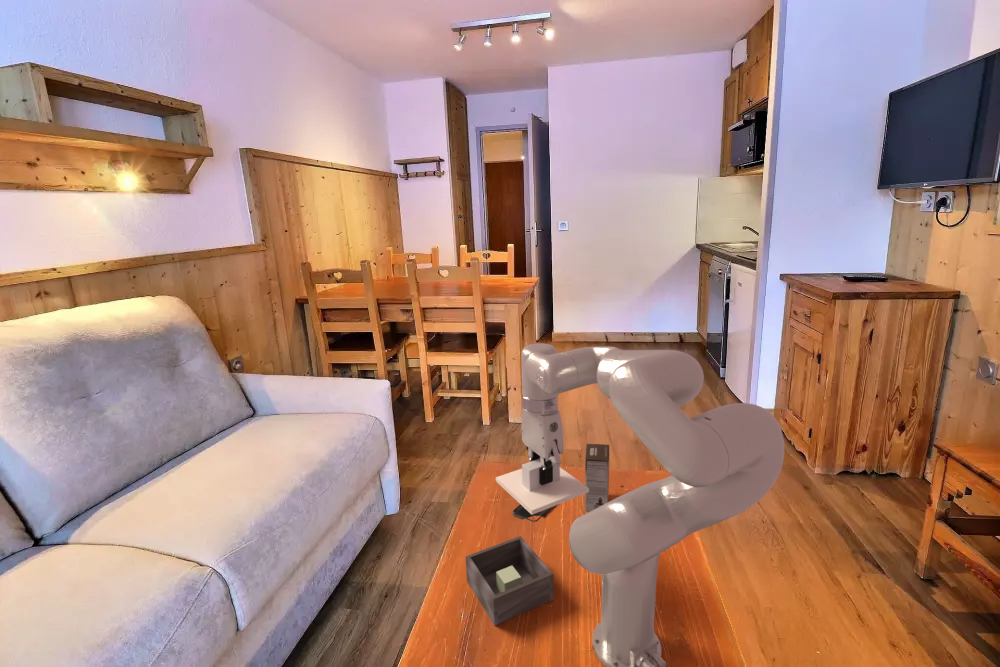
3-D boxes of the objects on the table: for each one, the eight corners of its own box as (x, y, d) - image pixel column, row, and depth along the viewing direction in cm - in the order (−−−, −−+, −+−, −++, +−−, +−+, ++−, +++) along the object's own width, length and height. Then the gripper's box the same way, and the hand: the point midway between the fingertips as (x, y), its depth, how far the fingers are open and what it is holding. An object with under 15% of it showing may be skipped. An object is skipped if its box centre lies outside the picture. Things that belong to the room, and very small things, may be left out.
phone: (511, 512, 134) (540, 486, 146) (511, 515, 135) (540, 490, 146) (535, 522, 130) (563, 495, 141) (535, 526, 130) (563, 498, 142)
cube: (521, 592, 107) (521, 576, 106) (505, 599, 105) (504, 583, 104) (512, 580, 110) (512, 565, 109) (496, 587, 109) (496, 571, 107)
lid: (588, 492, 107) (589, 467, 105) (531, 514, 100) (531, 488, 98) (549, 463, 119) (548, 440, 118) (495, 481, 112) (494, 457, 111)
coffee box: (585, 492, 143) (586, 442, 139) (608, 494, 142) (609, 444, 138) (584, 511, 135) (585, 458, 131) (608, 513, 133) (609, 460, 129)
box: (553, 601, 105) (553, 573, 103) (494, 628, 99) (493, 599, 97) (521, 561, 117) (520, 535, 115) (467, 582, 111) (465, 556, 109)
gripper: (578, 410, 99) (578, 491, 104) (533, 386, 113) (534, 458, 118) (548, 419, 96) (548, 502, 100) (505, 393, 109) (507, 467, 114)
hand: (541, 478), depth 109 cm, fingers closed on lid, 3 cm apart
